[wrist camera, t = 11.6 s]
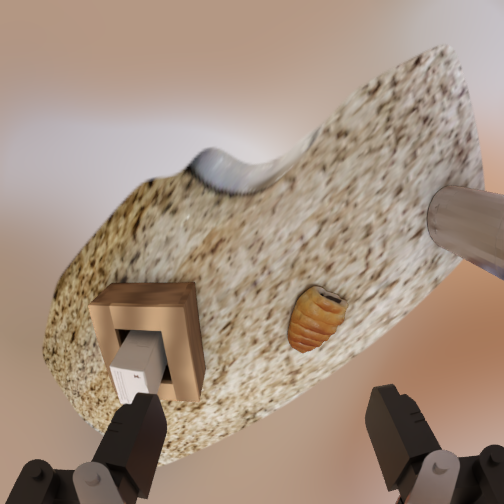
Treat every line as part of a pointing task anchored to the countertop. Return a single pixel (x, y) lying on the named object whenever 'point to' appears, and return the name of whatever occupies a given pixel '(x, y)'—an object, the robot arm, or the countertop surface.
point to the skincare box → (139, 364)
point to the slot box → (155, 319)
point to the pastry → (315, 318)
